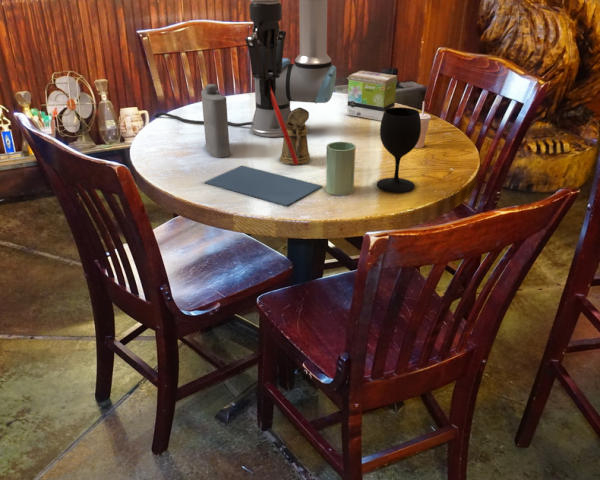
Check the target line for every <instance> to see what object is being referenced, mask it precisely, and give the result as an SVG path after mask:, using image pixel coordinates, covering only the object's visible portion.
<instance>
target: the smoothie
mask: <svg viewBox="0 0 600 480" xmlns="http://www.w3.org/2000/svg"><path fill="white" fill-rule="evenodd" d="M425 104H426V101H422V107H421V108H422V110H421V112H419V114H420V120H421V133H420V138H419V140H418V143H417V144H416V146H415V147H414V149H415V148H417V149H421V148H424V146H425V142H426V137H427V133H428V130H429V129H428V128H429V124H430V121H431V120H432V115H430V114H428V113H425Z"/></svg>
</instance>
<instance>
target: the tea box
mask: <svg viewBox="0 0 600 480" xmlns="http://www.w3.org/2000/svg"><path fill="white" fill-rule="evenodd" d="M397 81H398V74H397V75H396V74H389V73H382V72H375V71H368V70H359V71H357V72H354V73H352V74H349V75H348V88H347V106H346V114H347V116H351V117H352V116H354V117H359V118H363V119H368V120H374V121H379V122H381V121H382V117H383V115H384V112H385V110H386V109H389V108H395V105H396V94H397Z"/></svg>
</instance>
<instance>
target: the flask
mask: <svg viewBox="0 0 600 480" xmlns="http://www.w3.org/2000/svg"><path fill="white" fill-rule="evenodd" d="M200 92H201V94H200V95H201V103H202V117H203V121H204V124H203V127H204V139H205V149H206V151H207V153H209V154H210V155H211V156H213V157H215V158H218V159H219V158H220V159H222V158H223V159H225V158H227V157H230V155H231V154H230V153H231V151H230V150H231V149H230V136H229V125H228V122H229V120H228V119H229V118H228V105H227V103H228V102H227V96H225V95H223V94H221V93H219V89H218V85H216V84H215V83H208V84H206V85H205V88H203V89H202V90H201V91H200Z"/></svg>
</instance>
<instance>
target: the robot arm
mask: <svg viewBox="0 0 600 480" xmlns="http://www.w3.org/2000/svg"><path fill="white" fill-rule="evenodd" d="M249 1H250V3H249V6H248V7H249V8H248V10H249V20H250V21H251V22H252V24H253V25H252V29H251V30H252V31H251V32H252V33H251V34H250V35H249V36H245V37H244V38H245V43H246V45H247V48H248V54H249V63H250V66H251V67H250V68H251V74H252V77H253V80H254V96H255V97H254V99H255V100H254V101H255V109H254V114H253V117H252V120H251V121H248V122H247V121H246V122H241V123H236V122H232V121H228V126H232V127H244V126H250V131H251V133H252V134H253V135H256V136H259V137H265V138H279V137H280V138H281V137H284V135H283V132H282V129H281V127H280V124H279V121H278V118H277V116H276V113H275V110H274V108H273V105H272V102H271V88H272V91H273V93H274V96H275V99H276V102H277V104H278V107H279V110H280V113H281V115H282V118H283V121H284V124H285V123H286V122H287V121H288V114H289V113H290V112H291V111H292V110H291V102H293V103H294V102H296V103H311V104H313V103H314V104H326V103H328V102H330V100H331V99H332V96H333V94H334V90H335V85H336V79H337V67H336V66H335V65H334V64H333V65H332V58H331V56H329V55H328V53H327V51H328V0H298V2H299V3H298V6H299V7H298V9H299V10H298V13H299V15H298V16H299V19H298V21H299V23H298V24H299V25H298V26H299V54H298V55H297V56H296V58H294V63H291V61H290V58H287V57H284V47H285V46H284V45H285V40H286V36H287V31H286V30H282V29H280V23H279V22H280V21H282V19H283V9H282V8H283V5H282V4H281V3H280V2H281V0H249ZM160 116H165V117H168V118H172V119H176V120H178V121H181V122H184V123H189V124H196V125H197V124H198V125H199V124H200V125H204V120H193V119H187V118H183V117H181V116H178V115H174V114H171V113H168V112H158V113H156V114H155V115H154V118H159V117H160Z"/></svg>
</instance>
